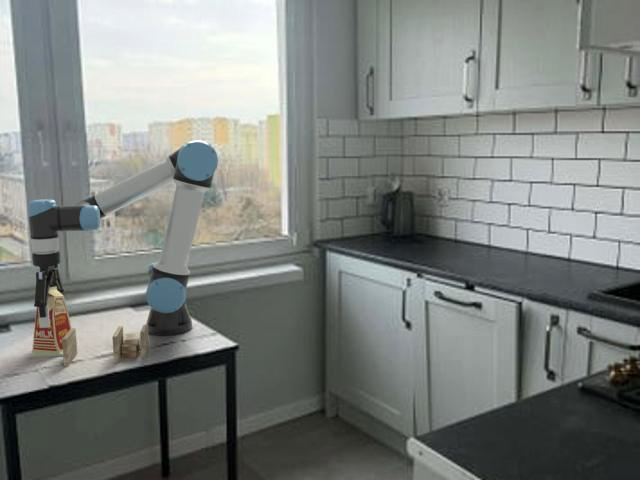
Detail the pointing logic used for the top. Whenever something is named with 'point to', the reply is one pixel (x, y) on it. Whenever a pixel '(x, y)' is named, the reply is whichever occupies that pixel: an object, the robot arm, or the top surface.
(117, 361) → the rack
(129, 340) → the offcut top
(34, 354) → the mat
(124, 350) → the offcut middle
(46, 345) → the milk carton
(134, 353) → the block
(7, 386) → the top surface
